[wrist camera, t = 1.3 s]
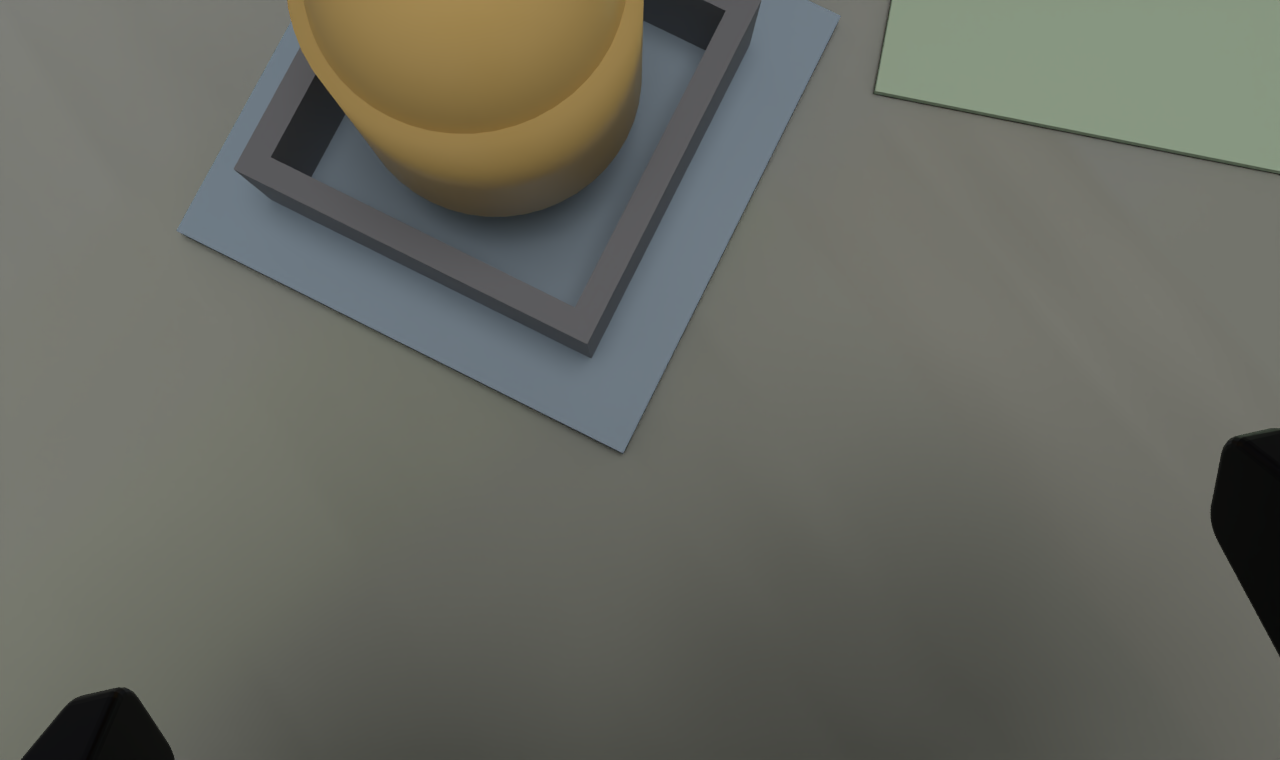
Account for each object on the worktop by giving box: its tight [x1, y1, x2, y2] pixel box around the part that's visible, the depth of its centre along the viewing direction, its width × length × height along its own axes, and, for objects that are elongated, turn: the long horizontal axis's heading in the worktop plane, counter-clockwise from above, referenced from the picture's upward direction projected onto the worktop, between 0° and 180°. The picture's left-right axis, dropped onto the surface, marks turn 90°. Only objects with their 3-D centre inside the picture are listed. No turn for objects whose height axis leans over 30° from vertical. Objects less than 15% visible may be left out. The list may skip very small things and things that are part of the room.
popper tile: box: [176, 0, 841, 454], centre depth 22 cm, size 10×10×3 cm
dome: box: [287, 0, 644, 217], centre depth 18 cm, size 5×5×6 cm
